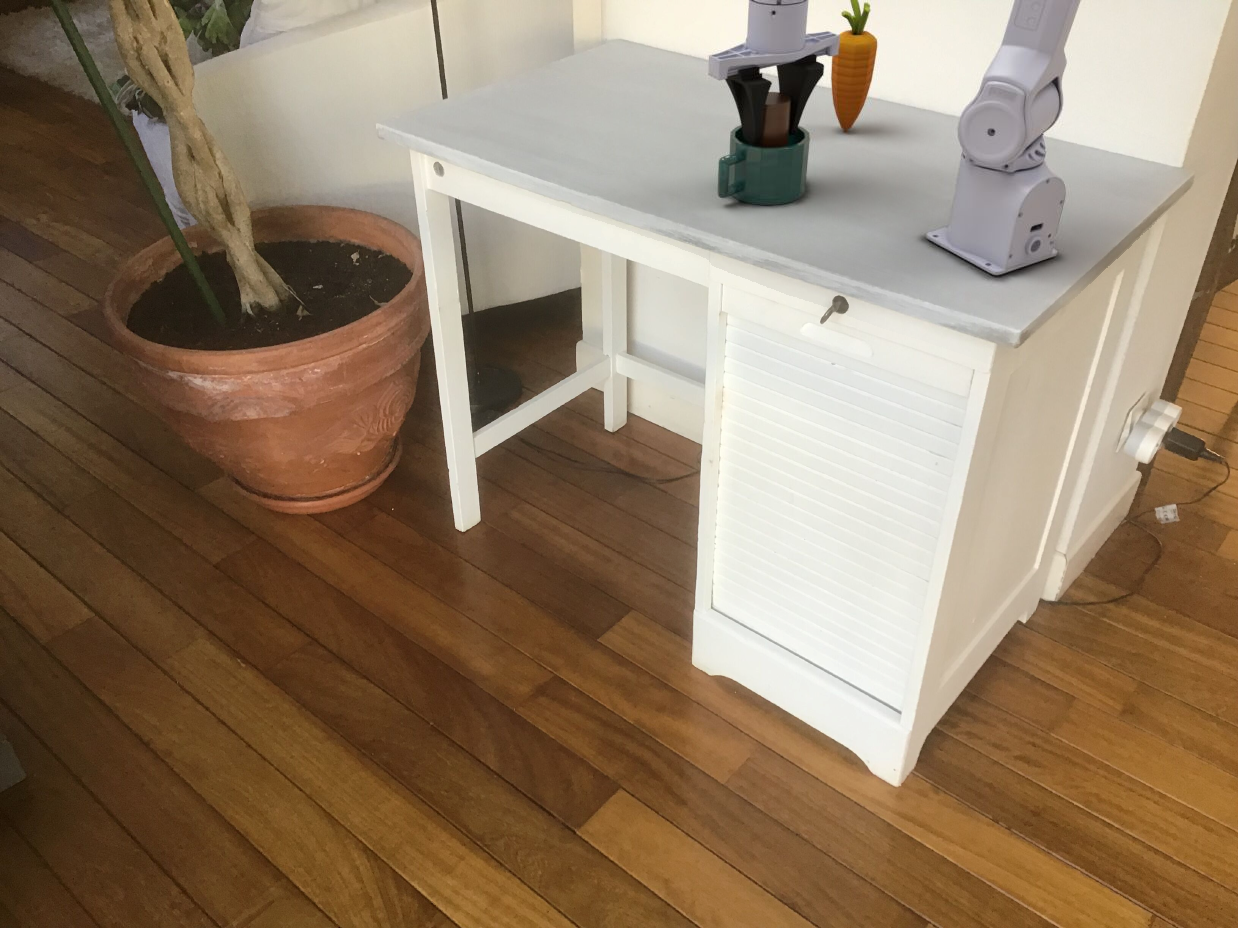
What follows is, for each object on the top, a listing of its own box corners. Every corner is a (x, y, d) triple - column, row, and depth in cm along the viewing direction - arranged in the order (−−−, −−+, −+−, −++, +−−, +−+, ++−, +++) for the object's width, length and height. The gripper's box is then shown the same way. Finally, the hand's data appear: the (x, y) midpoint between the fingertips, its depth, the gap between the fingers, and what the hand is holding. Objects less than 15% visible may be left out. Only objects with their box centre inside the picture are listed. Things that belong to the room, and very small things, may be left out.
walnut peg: (794, 157, 107) (799, 100, 104) (763, 165, 106) (766, 107, 102) (772, 145, 110) (776, 89, 106) (741, 153, 109) (744, 96, 105)
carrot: (866, 139, 121) (883, 5, 112) (823, 137, 122) (836, 4, 112) (866, 124, 125) (883, -7, 115) (825, 123, 125) (838, -8, 116)
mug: (766, 168, 115) (769, 115, 111) (820, 190, 110) (826, 135, 106) (692, 196, 110) (693, 141, 106) (746, 220, 104) (749, 163, 101)
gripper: (813, -22, 104) (802, 112, 112) (692, 0, 98) (690, 138, 107) (858, -7, 99) (843, 131, 107) (733, 17, 94) (728, 160, 102)
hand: (769, 136), depth 107 cm, fingers closed on walnut peg, 4 cm apart
